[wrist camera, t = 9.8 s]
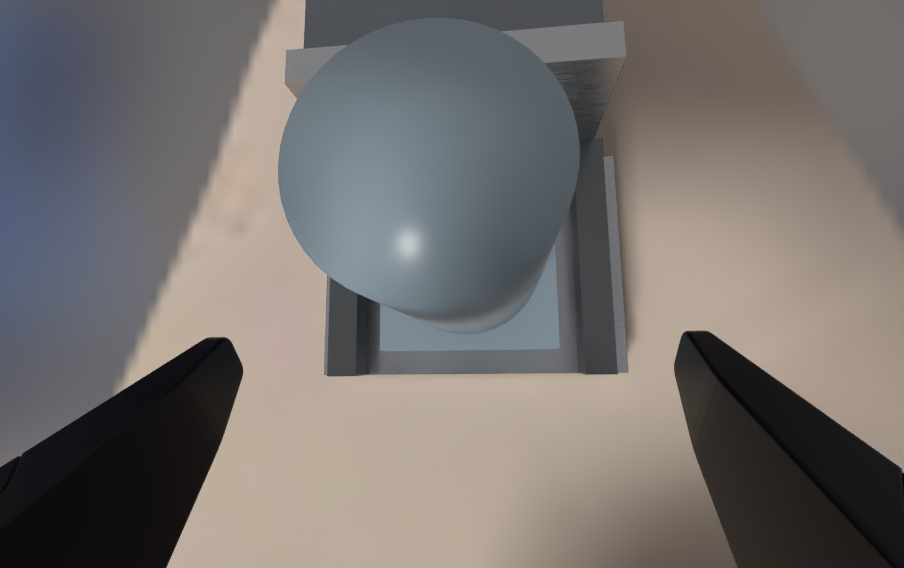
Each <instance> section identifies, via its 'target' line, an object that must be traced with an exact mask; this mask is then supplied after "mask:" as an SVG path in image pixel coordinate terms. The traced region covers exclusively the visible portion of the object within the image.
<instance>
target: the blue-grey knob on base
mask: <svg viewBox="0 0 904 568" xmlns="http://www.w3.org/2000/svg"><path fill="white" fill-rule="evenodd" d="M579 162H580V144H579V136H578V129H577V124H576V121H575V117H574V113H573V110H572V107H571V105H570V102H569V100H568V98H567V96H566V93H565V91H564V89H563V88H562V86H561V85H560V83H559V81H558V80H557V78H556V77H555V75H554V74H553V73H552V71H551V70H550V69H549V68H548V67H547V65H546V64H545V63H544V62H543V61H542V60H541V59H540V58H539V57H538V56H537V55H536V54H534V53H533V52H532V51H531V50H530V49H529V48H528V47H526V46H525V45H523V44H522V43H520V42H519V41H517V40H516V39H514V38H513V37H511V36H509V35H507V34H505V33H503V32H501V31H499V30H497V29H494V28H491V27H488V26H485V25H483V24H480V23H475V22H471V21H466V20H461V19H451V18H422V19H416V20H409V21H404V22H400V23H396V24H393V25H389V26H386V27H383V28H381V29H378V30H376V31H373V32H371V33H369V34H367V35H365V36H363V37H361V38H359V39H357V40H356V41H354V42H352V43H351V44H349V45H348V46H346V47H345V48H343V49H342V50H341V51H339V52H338V53H337V54H335V55H334V56H333V57H332V58H331V59H330V60H329V61H328V62H326V63H325V64H324V65H323V66H322V67H321V68H320V69H319V71H318V72H317V73H316V74H315V75H314V76H313V77H312V78H311V80H310V81H309V83H308V84H307V85H306V87H305V88H304V90H303V91H302V93H301V94H300V96H299V98H298V99H297V101H296V103H295V105H294V107H293V109H292V111H291V113H290V116H289V118H288V121H287V124H286V126H285V129H284V133H283V137H282V141H281V145H280V153H279V162H278V181H279V189H280V195H281V201H282V205H283V208H284V211H285V215H286V218H287V220H288V223H289V225H290V227H291V229H292V231H293V234H294V235H295V237H296V239H297V240H298V242H299V243H300V245H301V247H302V248H303V250H304V251H305V252H306V253H307V255H308V256H309V257H310V258H311V259H312V261H313V262H314V263H315V264H316V265H317V266H318V267H319V268H320V269H321V270H323V271H324V272H325V273H326V274H327V275H328V276H329V277H331V278H332V279H334V280H335V281H337V282H338V283H340V284H341V285H343V286H344V287H346V288H347V289H349V290H351V291H354V292H356V293H358V294H360V295H362V296H364V297H366V298H369V299H371V300H373V301H375V302H378V303H380V351H441V350H520V349H558V348H560V341H559V319H558V298H557V276H556V255H555V240H556V238H557V236H558V233H559V231H560V228H561V226H562V224H563V221H564V219H565V217H566V214H567V212H568V210H569V207H570V205H571V201H572V198H573V195H574V192H575V188H576V185H577V178H578V172H579Z"/></svg>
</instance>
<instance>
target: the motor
mask: <svg viewBox="0 0 904 568" xmlns="http://www.w3.org/2000/svg"><path fill="white" fill-rule="evenodd" d="M422 18H451V19H461V20H466V21H471V22H475V23H480V24H483V25H485V26H488V27H491V28H494V29H497V30H499V31H501V32H503V33H505V34H507V35H509V36H511V37H513V38H514V39H516V40H517V41H519V42H520V43H522V44H523V45H525V46H526V47H528V48H529V49H530V50H531V51H532V52H533V53H534V54H536V55H537V56H538V57H539V58H540V59H541V60H542V61H543V62H544V63H545V64H546V65H547V67H548V68H549V69H550V70H551V71H552V73H553V74H554V75H555V77H556V78H557V80H558V81H559V83H560V85H561V86H562V88H563V89H564V91H565V93H566V96H567V98H568V100H569V102H570V105H571V107H572V110H573V113H574V117H575V121H576V124H577V129H578V136H579V144H580V162H579V172H578V178H577V185H576V188H575V192H574V195H573V198H572V201H571V205H570V207H569V210H568V212H567V214H566V217H565V219H564V221H563V224H562V226H561V228H560V231H559V233H558V236H557V238H556V240H555V255H556V276H557V298H558V319H559V341H560V348H558V349H520V350H441V351H380V303H378V302H375V301H373V300H371V299H369V298H366V297H364V296H362V295H360V294H358V293H356V292H354V291H351V290H349V289H347V288H346V287H344V286H343V285H341V284H340V283H338V282H337V281H335V280H334V279H332V278H331V277H329V276H328V275H327V298H326V330H325V361H324V375H327V376H360V375H368V374H498V373H581V374H618V373H628V359H627V344H626V330H625V315H624V301H623V287H622V272H621V258H620V243H619V229H618V214H617V200H616V186H615V171H614V157H613V156H603V141H602V138H599V139H594V136H595V134H596V131H597V129H598V126H599V124H600V121H601V119H602V116H603V114H604V111H605V109H606V106H607V104H608V101H609V99H610V96H611V94H612V91H613V89H614V86H615V84H616V81H617V79H618V76H619V74H620V71H621V69H622V66H623V64H624V61H625V59H626V45H625V32H624V21H615V22H603V9H602V0H306V9H305V32H304V49H295V50H286V69H285V84H286V86H287V87H288V88H289V89H290V91H291V92H292V93H293V94H294V96H295V97H296V98H297V99H298V98H299V96H300V94H301V93H302V91H303V90H304V88H305V87H306V85H307V84H308V83H309V81H310V80H311V78H312V77H313V76H314V75H315V74H316V73H317V72H318V71H319V69H320V68H321V67H322V66H323V65H324V64H325V63H326V62H328V61H329V60H330V59H331V58H332V57H333V56H334V55H335V54H337V53H338V52H339V51H341V50H342V49H343V48H345V47H346V46H348V45H349V44H351V43H352V42H354V41H356V40H357V39H359V38H361V37H363V36H365V35H367V34H369V33H371V32H373V31H376V30H378V29H381V28H383V27H386V26H389V25H393V24H396V23H400V22H404V21H409V20H416V19H422Z"/></svg>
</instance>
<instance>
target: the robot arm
mask: <svg viewBox="0 0 904 568" xmlns="http://www.w3.org/2000/svg"><path fill="white" fill-rule="evenodd" d="M674 372H675V377H676V381H677V385H678V390H679V394H680V398H681V402H682V406H683V410H684V414H685V418H686V422H687V426H688V430H689V434H690V438H691V442H692V446H693V449H694V452H695V455H696V458H697V461H698V463H699V466H700V469H701V471H702V474H703V477H704V479H705V482H706V485H707V487H708V490H709V493H710V495H711V498H712V501H713V503H714V506H715V509H716V511H717V514H718V517H719V519H720V522H721V525H722V527H723V530H724V533H725V535H726V538H727V541H728V543H729V546H730V549H731V551H732V554H733V557H734V559H735V562H736V564H737V567H738V568H904V473H903V472H902V469H901V468H900V467H899V466H897V465H896V464H894V463H893V462H892V461H890V460H889V459H887V458H886V457H885V456H883V455H882V454H880V453H879V452H878V451H876V450H875V449H873V448H872V447H871V446H869V445H868V444H866V443H865V442H864V441H862V440H861V439H859V438H858V437H857V436H855V435H854V434H852V433H851V432H850V431H848V430H847V429H845V428H844V427H843V426H841V425H840V424H838V423H837V422H836V421H834V420H833V419H831V418H830V417H828V416H827V415H826V414H824V413H823V412H821V411H820V410H819V409H817V408H816V407H814V406H813V405H812V404H810V403H809V402H807V401H806V400H805V399H803V398H802V397H800V396H799V395H798V394H796V393H795V392H793V391H792V390H791V389H789V388H788V387H786V386H785V385H784V384H782V383H781V382H779V381H778V380H777V379H775V378H774V377H772V376H771V375H770V374H768V373H767V372H765V371H764V370H762V369H761V368H760V367H758V366H757V365H755V364H754V363H753V362H751V361H750V360H748V359H747V358H746V357H744V356H743V355H741V354H740V353H739V352H737V351H736V350H734V349H733V348H732V347H730V346H729V345H727V344H726V343H725V342H723V341H722V340H720V339H719V338H718V337H716V336H715V335H713V334H712V333H710V332H708V331H686V332H684V333H683V335H682V337H681V340H680V344H679V347H678V351H677V355H676V359H675V363H674ZM242 376H243V367H242V363H241V361H240V359H239V357H238V355H237V353H236V351H235V349H234V347H233V345H232V342H231V341H230V340H229V339H228V338H225V337H210V338H206V339H204V340H202V341H201V342H199V343H197V344H196V345H194V346H193V347H191V348H190V349H188V350H186V351H185V352H183V353H182V354H180V355H178V356H177V357H175V358H174V359H172V360H170V361H169V362H167V363H166V364H164V365H162V366H161V367H159V368H158V369H156V370H155V371H153V372H151V373H150V374H148V375H147V376H145V377H143V378H142V379H140V380H139V381H137V382H135V383H134V384H132V385H131V386H129V387H127V388H126V389H124V390H123V391H121V392H120V393H118V394H116V395H115V396H113V397H112V398H110V399H108V400H107V401H105V402H104V403H102V404H100V405H99V406H97V407H96V408H94V409H92V410H91V411H89V412H88V413H86V414H85V415H83V416H81V417H80V418H79V419H77V420H75V421H74V422H72V423H70V424H69V425H67V426H66V427H64V428H62V429H61V430H59V431H57V432H56V433H54V434H53V435H51V436H50V437H48V438H46V439H45V440H43V441H42V442H40V443H38V444H37V445H35V446H34V447H32V448H31V449H29V450H27V451H26V452H24V453H23V454H22V456H18V457H16V458H15V459H13V460H11V461H10V462H8V463H6V464H5V465H3V466H2V467H0V568H166V567H167V565H168V563H169V560H170V558H171V556H172V554H173V551H174V549H175V547H176V545H177V542H178V540H179V538H180V535H181V533H182V531H183V529H184V526H185V524H186V522H187V519H188V517H189V515H190V513H191V510H192V508H193V506H194V504H195V501H196V499H197V497H198V494H199V492H200V490H201V488H202V485H203V483H204V481H205V478H206V476H207V474H208V472H209V469H210V467H211V465H212V463H213V460H214V458H215V456H216V453H217V451H218V449H219V446H220V444H221V441H222V438H223V435H224V433H225V430H226V426H227V423H228V420H229V417H230V414H231V411H232V408H233V405H234V401H235V398H236V395H237V392H238V389H239V386H240V383H241V380H242Z"/></svg>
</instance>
